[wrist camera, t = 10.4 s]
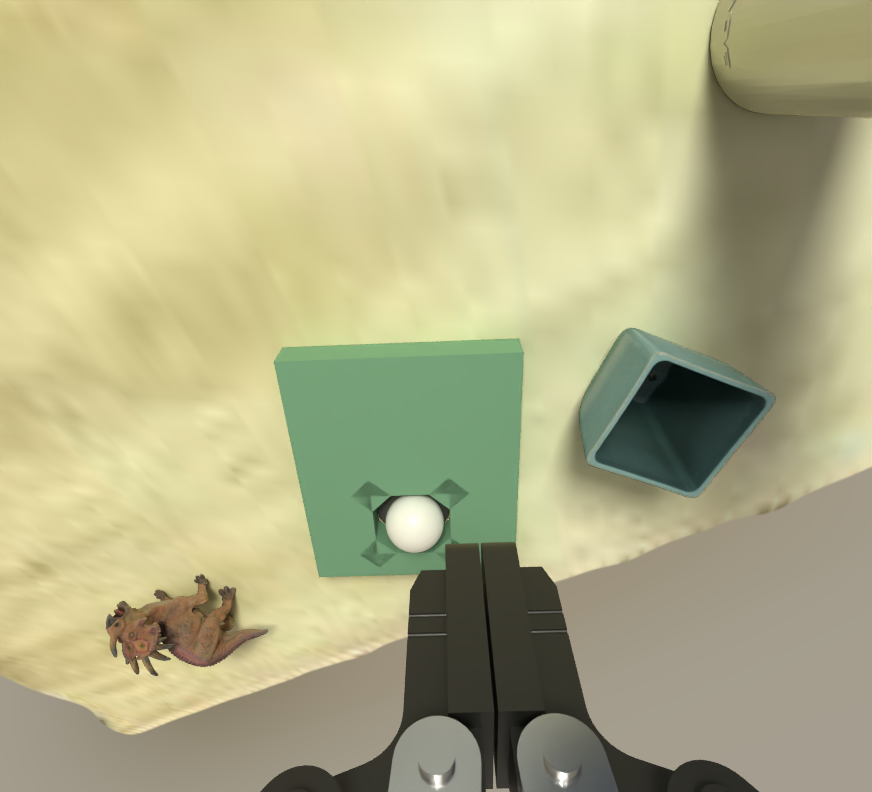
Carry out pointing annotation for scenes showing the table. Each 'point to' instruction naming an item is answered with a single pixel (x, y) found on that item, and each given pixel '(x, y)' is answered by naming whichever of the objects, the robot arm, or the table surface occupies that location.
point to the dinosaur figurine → (177, 629)
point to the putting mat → (403, 445)
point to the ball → (414, 523)
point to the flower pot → (667, 413)
